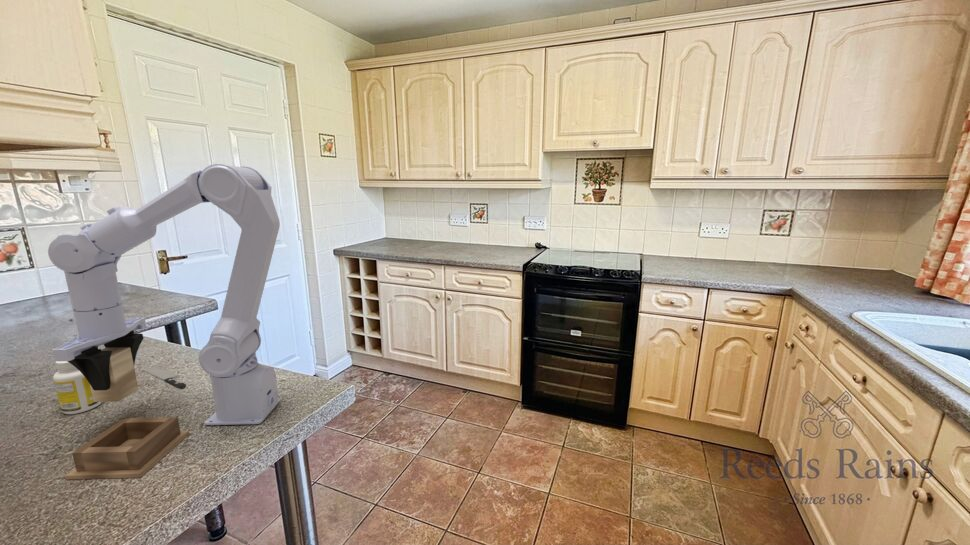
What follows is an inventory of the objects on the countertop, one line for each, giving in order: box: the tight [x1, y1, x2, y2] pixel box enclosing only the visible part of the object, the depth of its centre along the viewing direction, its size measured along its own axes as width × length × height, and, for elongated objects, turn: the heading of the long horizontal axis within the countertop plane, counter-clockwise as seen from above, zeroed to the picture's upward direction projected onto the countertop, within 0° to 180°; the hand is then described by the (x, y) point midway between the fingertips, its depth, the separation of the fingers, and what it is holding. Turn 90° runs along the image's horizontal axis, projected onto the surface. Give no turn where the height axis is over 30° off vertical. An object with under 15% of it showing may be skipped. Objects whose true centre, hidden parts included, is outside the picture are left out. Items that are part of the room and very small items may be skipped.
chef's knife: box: [140, 367, 187, 389], centre depth 84 cm, size 19×1×3 cm
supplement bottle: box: [52, 361, 103, 415], centre depth 71 cm, size 5×5×10 cm
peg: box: [90, 347, 139, 403], centre depth 66 cm, size 4×4×8 cm
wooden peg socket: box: [64, 416, 190, 481], centre depth 59 cm, size 10×10×4 cm
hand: (114, 382), depth 66 cm, fingers closed on peg, 4 cm apart
